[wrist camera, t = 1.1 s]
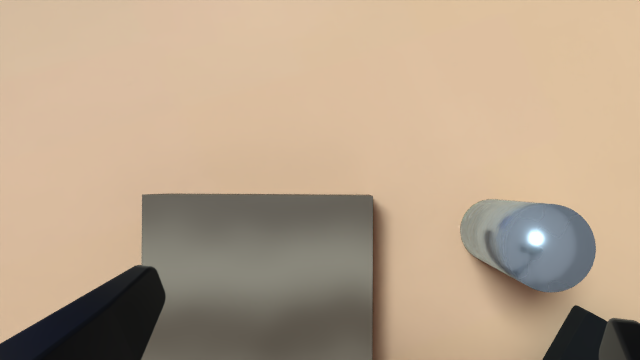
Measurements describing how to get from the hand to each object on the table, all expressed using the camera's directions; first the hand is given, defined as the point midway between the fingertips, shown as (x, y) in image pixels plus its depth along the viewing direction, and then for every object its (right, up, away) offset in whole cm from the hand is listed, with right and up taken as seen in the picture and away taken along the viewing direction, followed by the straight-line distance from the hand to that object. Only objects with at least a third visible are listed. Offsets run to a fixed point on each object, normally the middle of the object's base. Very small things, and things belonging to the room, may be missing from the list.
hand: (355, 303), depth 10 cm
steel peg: (+9, 0, +18) cm, 20 cm away
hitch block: (-4, -10, +19) cm, 22 cm away
